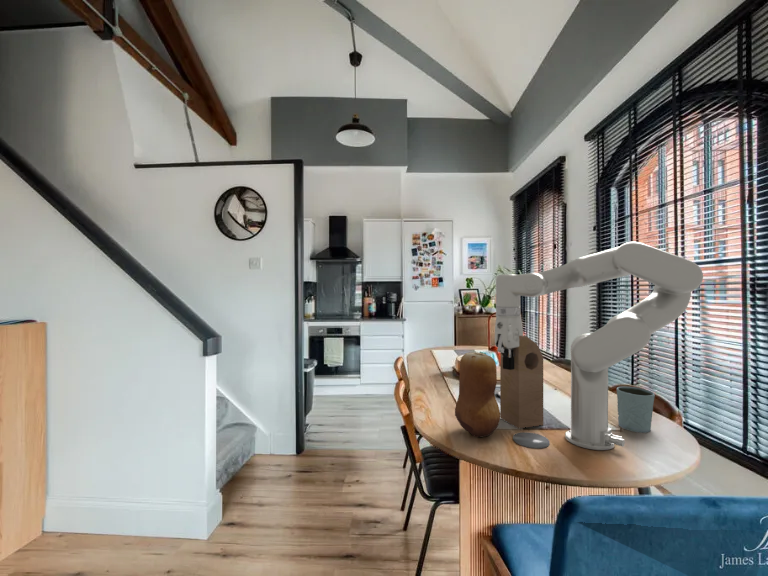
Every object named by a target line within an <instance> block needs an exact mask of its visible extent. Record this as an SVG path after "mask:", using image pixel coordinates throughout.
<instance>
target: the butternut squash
mask: <svg viewBox="0 0 768 576" xmlns="http://www.w3.org/2000/svg"><path fill="white" fill-rule="evenodd" d="M497 372H498V371H497V362H496V361H495V359H494V358H493V357H492V356H490V355H488V354H487V353H483V352H466V353H464V354H463V355H462V356H461V358H460V361H459V376H458V377H459V380H458V381H459V382H458V384H459V385H458V397H457V401H456V403H455V408H454V416H455V419H456V420H457V421H458V423H459V425H460V426H461V427H462V429H463V430H465V431H466V432H468V433H469V434H471V436H473V437H476V438H482V437H487V436H488V437H489V436H490V435H491V434H493V433H494V431H495V430H496V429H497V428H498V426H499V425H500V421H501V418H500V406H499V403H498V401H497V398H496V396H495V393H496V387H497V382H498V377H497V376H498V375H497V374H498V373H497Z"/></svg>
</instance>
